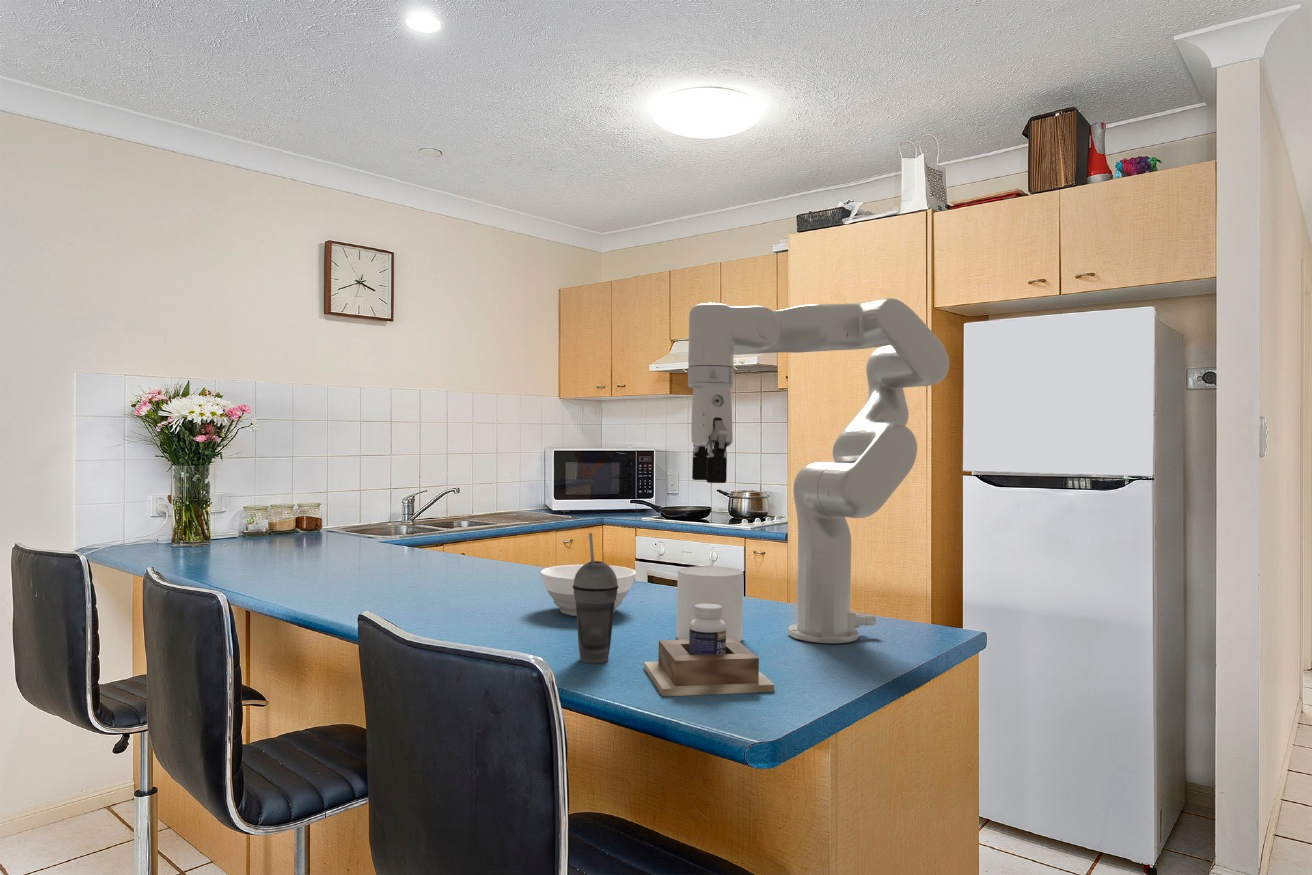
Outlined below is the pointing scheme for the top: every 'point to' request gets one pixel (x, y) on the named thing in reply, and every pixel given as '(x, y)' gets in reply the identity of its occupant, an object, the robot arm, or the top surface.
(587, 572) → the beverage cup
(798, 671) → the top surface
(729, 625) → the white cylinder
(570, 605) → the bowl
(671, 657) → the hole block
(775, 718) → the top surface
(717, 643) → the pill bottle
